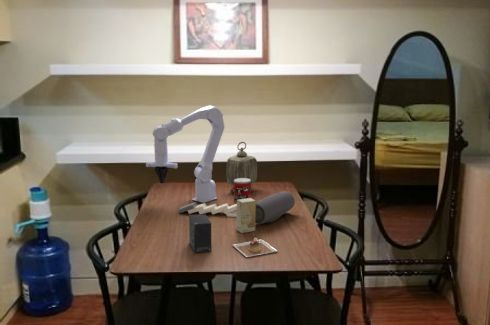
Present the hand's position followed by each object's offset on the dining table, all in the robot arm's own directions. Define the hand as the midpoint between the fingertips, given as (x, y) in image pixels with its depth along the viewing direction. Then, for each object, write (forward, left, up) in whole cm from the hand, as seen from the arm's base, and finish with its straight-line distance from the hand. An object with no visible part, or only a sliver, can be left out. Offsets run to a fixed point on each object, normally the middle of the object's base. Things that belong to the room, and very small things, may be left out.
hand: (162, 182), depth 218 cm
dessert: (+17, +66, -11) cm, 69 cm away
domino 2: (+1, +19, -9) cm, 21 cm away
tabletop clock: (-39, +15, -10) cm, 43 cm away
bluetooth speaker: (-13, +52, -10) cm, 55 cm away
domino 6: (-6, +34, -10) cm, 36 cm away
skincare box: (+4, +52, -10) cm, 53 cm away
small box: (+27, +50, -10) cm, 58 cm away
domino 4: (-3, +27, -9) cm, 29 cm away
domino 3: (-1, +23, -9) cm, 25 cm away
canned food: (-23, +28, -10) cm, 38 cm away
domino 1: (+3, +15, -9) cm, 18 cm away
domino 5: (-6, +32, -9) cm, 33 cm away
